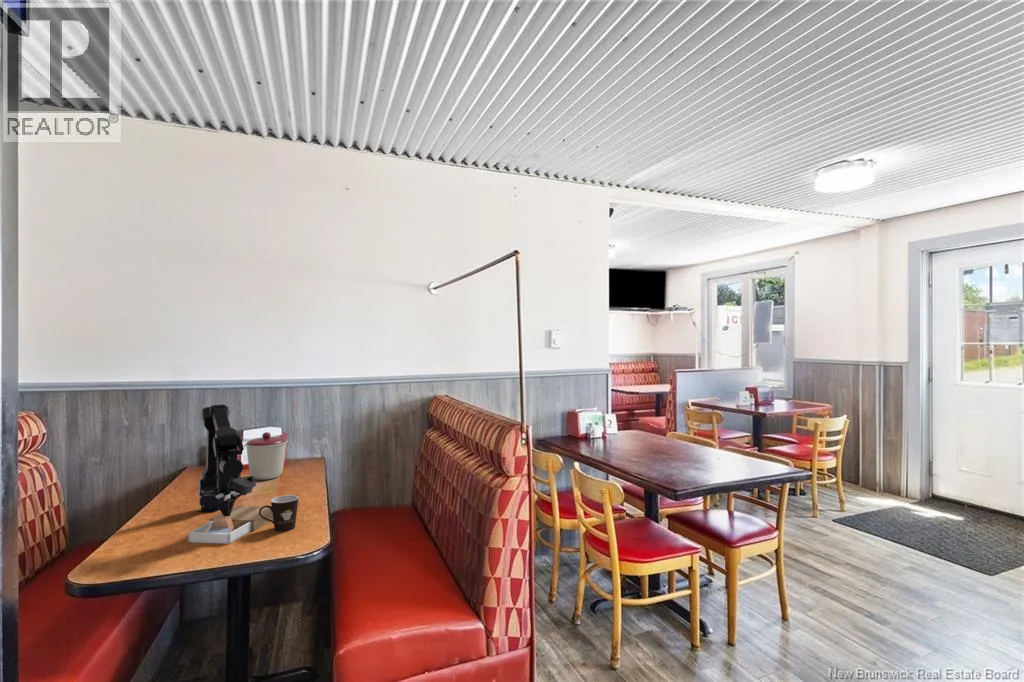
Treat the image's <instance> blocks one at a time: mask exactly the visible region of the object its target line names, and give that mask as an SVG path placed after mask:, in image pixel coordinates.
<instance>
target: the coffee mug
mask: <svg viewBox="0 0 1024 682" xmlns="http://www.w3.org/2000/svg"><path fill="white" fill-rule="evenodd" d="M270 504H271V506H270V505H264V506H263V505H262V506H263V507H261V508H260V510H259V515H260V516H261V517H262V518H263V519H265V520H267V521H270V522H269V523H272V524H273V527H274V528H273V529H274V531H275V532H278V533H279V532H280V533H281V532H282V533H284V532H289V531H292V530H294V529H295V528H296V523H297V522H296V521H297V515H298V514H297V513H298V506H299V496H298V495H294V494H288V495H287V494H286V495H285V494H284V495H279V496H275V497H273V498H272V499H270ZM265 507H268V508H270V510H271V511H272V513H273V520H270V519H267V518H265V517H263V516H262V515H261V513H260V512H261V510H262V509H263V508H265Z"/></svg>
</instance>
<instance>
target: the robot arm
mask: <svg viewBox="0 0 1024 682" xmlns="http://www.w3.org/2000/svg"><path fill="white" fill-rule="evenodd" d="M229 417H230V411H229V406H227V405H226V404H223V403H222V404H221V403H220V404H212V405H210V406H205V407H204V408H201V410H200V420H201V421H202V424H203V426H204V428H205V429H206V459H205V460H206V461H205V462H206V463H205V467H204V469H203V471H202V472H201V473H200V479H199V480H198V485H197V495H198V496H199V497H200V498H199V499H198V501H199V502H198V503H199V506H200V508H199V509H198V510H197V511H198V512H204V513H205V512H206V513H209V512H210V513H214V512H217V511H218V510H219V511H220V513H222V514H223V516H230V514H231V511H232V508H233V507H234V506H235V502H236V501H237V500H238V499H239V498H240V497H241V496H246V495H248V494H251V493H253V488H254V487H256V486H257V484H256V482H257V481H256V479H255V477H253V476H251V475H249V477H244V478H242V477H241V473H242V471H243V469H244V465H243V463H242V461H240V459H238V455H243V452H244V450H245V448H244V443H243V439H242V438H241V436H240V435H239V434H238V431H237V430H236V429H235V428H232V426H231V423H230V420H229Z"/></svg>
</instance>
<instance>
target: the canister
mask: <svg viewBox="0 0 1024 682" xmlns="http://www.w3.org/2000/svg"><path fill="white" fill-rule="evenodd" d="M287 444H288V439H285V438H284V437H280V436H271V433H270V432H268V431H267V432H263V433H262V436H261V437H257V438H254V439H250V440H248V441H247V442H245V443H244V446H245V447H246V455H247V462H248V463H247V464H248V469H249V470H248V471H249V474H250V475H249V476H253V477H255V480H257V481H265V480H272V479H276V478H278V477H280V476H281V475H282V474H283V471H284V464H285V457H286V456H285V455H286V449H287V448H286V447H287Z"/></svg>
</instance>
